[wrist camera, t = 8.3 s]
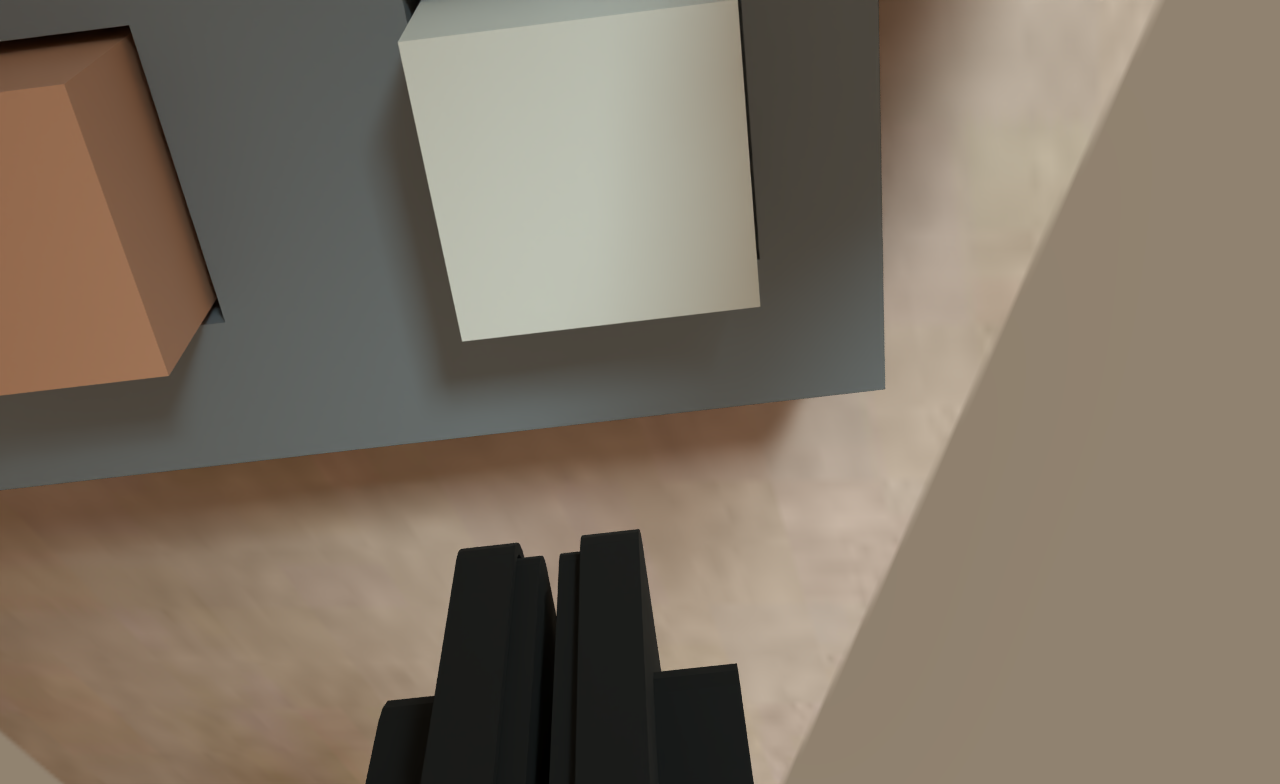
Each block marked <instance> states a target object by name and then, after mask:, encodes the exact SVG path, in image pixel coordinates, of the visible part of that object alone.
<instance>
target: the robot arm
mask: <svg viewBox="0 0 1280 784" xmlns="http://www.w3.org/2000/svg"><path fill="white" fill-rule="evenodd" d="M366 784H754V782H753V775H752V768H751V761H750V753H749V746H748V739H747V732H746V724H745V717H744V710H743V703H742V695H741V688H740V681H739V674H738V668H737V663H736V664H727V665H718V666H708V667H699V668H690V669H680V670H671V671H662V672H661V667H660V660H659V653H658V647H657V640H656V633H655V626H654V619H653V612H652V606H651V599H650V592H649V585H648V578H647V572H646V565H645V558H644V551H643V544H642V538H641V533H640V530H639V529H636V530H627V531H618V532H609V533H600V534H591V535H582V537H581V543H580V552H571V553H562V554H560V558H559V575H558V597H557V617H556V612H555V607H554V602H553V597H552V592H551V587H550V582H549V577H548V572H547V567H546V563H545V560H544V557H543V556H535V557H526V558H524V555H523V551H522V548H521V546H520V544H519V543H510V544H501V545H493V546H484V547H475V548H466V549H460V551H459V552H458V555H457V559H456V565H455V571H454V578H453V584H452V590H451V596H450V603H449V609H448V615H447V621H446V628H445V634H444V640H443V646H442V653H441V659H440V665H439V671H438V678H437V684H436V690H435V696H429V697H419V698H410V699H401V700H391V701H387V703H386V704H385V706H384V707H383V709H382V712H381V715H380V719H379V722H378V726H377V731H376V736H375V741H374V746H373V750H372V755H371V760H370V765H369V769H368V774H367V779H366Z"/></svg>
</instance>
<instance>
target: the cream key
mask: <svg viewBox="0 0 1280 784" xmlns="http://www.w3.org/2000/svg"><path fill="white" fill-rule="evenodd" d="M398 46H399V50H400V55H401V60H402V64H403V69H404V74H405V78H406V83H407V88H408V92H409V97H410V102H411V106H412V111H413V115H414V120H415V125H416V129H417V134H418V139H419V143H420V148H421V153H422V157H423V162H424V167H425V171H426V176H427V180H428V185H429V190H430V194H431V199H432V204H433V208H434V213H435V218H436V222H437V227H438V232H439V236H440V241H441V245H442V250H443V255H444V259H445V264H446V269H447V273H448V278H449V283H450V287H451V292H452V297H453V301H454V306H455V310H456V315H457V320H458V324H459V329H460V334H461V338H462V342H463V341H471V340H480V339H488V338H497V337H505V336H514V335H523V334H531V333H540V332H548V331H557V330H565V329H574V328H582V327H591V326H600V325H608V324H617V323H625V322H634V321H642V320H651V319H659V318H668V317H677V316H685V315H694V314H702V313H711V312H719V311H728V310H737V309H745V308H754V307H760V295H759V281H758V267H757V254H756V240H755V227H754V213H753V200H752V186H751V173H750V159H749V146H748V132H747V119H746V105H745V92H744V78H743V65H742V51H741V38H740V24H739V11H738V0H421V1H420V3H419V5H418V6H417V8H416V10H415V12H414V14H413V16H412V17H411V19H410V21H409V23H408V25H407V26H406V28H405V30H404V32H403V34H402V35H401V37H400V39H399V41H398Z"/></svg>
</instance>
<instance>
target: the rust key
mask: <svg viewBox="0 0 1280 784" xmlns="http://www.w3.org/2000/svg"><path fill="white" fill-rule="evenodd" d="M216 299H217V295H216V292H215V289H214V286H213V283H212V280H211V277H210V273H209V270H208V267H207V264H206V261H205V258H204V255H203V252H202V249H201V246H200V243H199V239H198V236H197V233H196V230H195V227H194V224H193V221H192V218H191V215H190V212H189V209H188V206H187V202H186V199H185V196H184V193H183V190H182V187H181V184H180V181H179V178H178V175H177V172H176V168H175V165H174V162H173V159H172V156H171V153H170V150H169V147H168V144H167V141H166V138H165V135H164V131H163V128H162V125H161V122H160V119H159V116H158V113H157V110H156V107H155V104H154V101H153V97H152V94H151V91H150V88H149V85H148V82H147V79H146V76H145V73H144V70H143V67H142V64H141V60H140V57H139V54H138V51H137V48H136V45H135V42H134V39H133V36H132V33H131V30H130V26H129V25H126V26H118V27H110V28H102V29H95V30H87V31H79V32H71V33H63V34H55V35H47V36H39V37H32V38H24V39H16V40H8V41H0V396H1V395H10V394H18V393H27V392H35V391H44V390H52V389H61V388H70V387H78V386H87V385H95V384H104V383H112V382H121V381H129V380H138V379H147V378H155V377H164V376H169V375H170V373H171V372H172V370H173V368H174V367H175V365H176V364H177V362H178V360H179V359H180V357H181V355H182V354H183V352H184V351H185V349H186V347H187V346H188V344H189V342H190V341H191V339H192V338H193V336H194V334H195V333H196V331H197V330H198V328H199V326H200V325H201V323H202V321H203V320H204V318H205V317H206V315H207V313H208V312H209V310H210V308H211V307H212V305H213V304H214V302H215V300H216Z"/></svg>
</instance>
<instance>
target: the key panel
mask: <svg viewBox="0 0 1280 784" xmlns="http://www.w3.org/2000/svg"><path fill="white" fill-rule="evenodd" d="M420 1H421V0H0V41H8V40H16V39H24V38H32V37H39V36H47V35H55V34H63V33H71V32H79V31H87V30H95V29H102V28H110V27H118V26H126V25H129V26H130V30H131V33H132V36H133V39H134V42H135V45H136V48H137V51H138V54H139V57H140V60H141V64H142V67H143V70H144V73H145V76H146V79H147V82H148V85H149V88H150V91H151V94H152V97H153V101H154V104H155V107H156V110H157V113H158V116H159V119H160V122H161V125H162V128H163V131H164V135H165V138H166V141H167V144H168V147H169V150H170V153H171V156H172V159H173V162H174V165H175V168H176V172H177V175H178V178H179V181H180V184H181V187H182V190H183V193H184V196H185V199H186V202H187V206H188V209H189V212H190V215H191V218H192V221H193V224H194V227H195V230H196V233H197V236H198V239H199V243H200V246H201V249H202V252H203V255H204V258H205V261H206V264H207V267H208V270H209V273H210V277H211V280H212V283H213V286H214V289H215V292H216V295H217V299H216V300H215V302H214V304H213V305H212V307H211V308H210V310H209V312H208V313H207V315H206V317H205V318H204V320H203V321H202V323H201V325H200V326H199V328H198V330H197V331H196V333H195V334H194V336H193V338H192V339H191V341H190V342H189V344H188V346H187V347H186V349H185V351H184V352H183V354H182V355H181V357H180V359H179V360H178V362H177V364H176V365H175V367H174V368H173V370H172V372H171V373H170V375H169V376H164V377H155V378H147V379H138V380H129V381H121V382H112V383H104V384H95V385H87V386H78V387H70V388H61V389H52V390H44V391H35V392H27V393H18V394H10V395H1V396H0V490H7V489H16V488H24V487H33V486H42V485H51V484H59V483H68V482H77V481H86V480H94V479H103V478H112V477H121V476H129V475H138V474H147V473H156V472H164V471H173V470H182V469H191V468H200V467H208V466H217V465H226V464H235V463H243V462H252V461H261V460H270V459H278V458H287V457H296V456H305V455H313V454H322V453H331V452H340V451H348V450H357V449H366V448H375V447H384V446H392V445H401V444H410V443H419V442H427V441H436V440H445V439H454V438H462V437H471V436H480V435H489V434H497V433H506V432H515V431H524V430H533V429H541V428H550V427H559V426H568V425H576V424H585V423H594V422H603V421H611V420H620V419H629V418H638V417H646V416H655V415H664V414H673V413H681V412H690V411H699V410H708V409H717V408H725V407H734V406H743V405H752V404H760V403H769V402H778V401H787V400H795V399H804V398H813V397H822V396H830V395H839V394H848V393H857V392H866V391H874V390H883V389H885V356H884V297H883V237H882V178H881V119H880V60H879V1H878V0H738V11H739V24H740V38H741V51H742V65H743V78H744V92H745V105H746V119H747V132H748V146H749V159H750V173H751V186H752V200H753V213H754V227H755V240H756V254H757V267H758V281H759V295H760V307H754V308H745V309H737V310H728V311H719V312H711V313H702V314H694V315H685V316H677V317H668V318H659V319H651V320H642V321H634V322H625V323H617V324H608V325H600V326H591V327H582V328H574V329H565V330H557V331H548V332H540V333H531V334H523V335H514V336H505V337H497V338H488V339H480V340H471V341H463V342H462V338H461V334H460V329H459V324H458V320H457V315H456V310H455V306H454V301H453V297H452V292H451V287H450V283H449V278H448V273H447V269H446V264H445V259H444V255H443V250H442V245H441V241H440V236H439V232H438V227H437V222H436V218H435V213H434V208H433V204H432V199H431V194H430V190H429V185H428V180H427V176H426V171H425V167H424V162H423V157H422V153H421V148H420V143H419V139H418V134H417V129H416V125H415V120H414V115H413V111H412V106H411V102H410V97H409V92H408V88H407V83H406V78H405V74H404V69H403V64H402V60H401V55H400V50H399V46H398V41H399V39H400V37H401V35H402V34H403V32H404V30H405V28H406V26H407V25H408V23H409V21H410V19H411V17H412V16H413V14H414V12H415V10H416V8H417V6H418V5H419V3H420Z"/></svg>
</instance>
